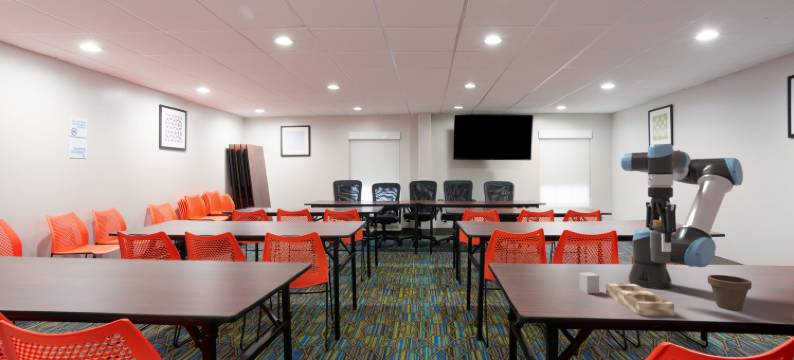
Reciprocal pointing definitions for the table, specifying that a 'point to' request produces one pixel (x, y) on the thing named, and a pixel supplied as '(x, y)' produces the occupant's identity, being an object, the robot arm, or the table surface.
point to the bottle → (658, 244)
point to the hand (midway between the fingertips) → (660, 249)
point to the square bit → (589, 282)
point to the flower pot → (729, 291)
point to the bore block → (640, 300)
